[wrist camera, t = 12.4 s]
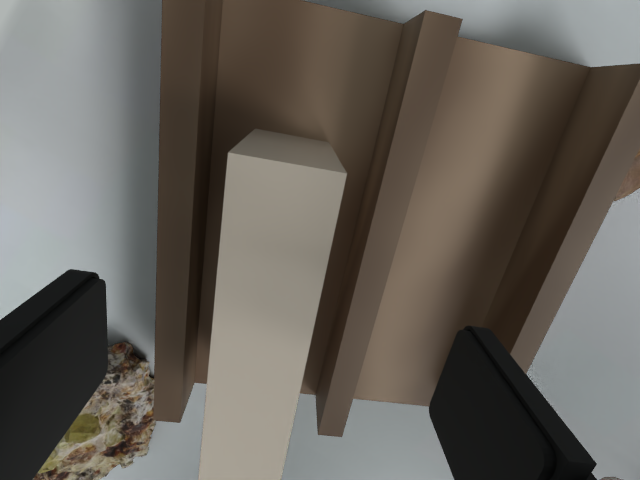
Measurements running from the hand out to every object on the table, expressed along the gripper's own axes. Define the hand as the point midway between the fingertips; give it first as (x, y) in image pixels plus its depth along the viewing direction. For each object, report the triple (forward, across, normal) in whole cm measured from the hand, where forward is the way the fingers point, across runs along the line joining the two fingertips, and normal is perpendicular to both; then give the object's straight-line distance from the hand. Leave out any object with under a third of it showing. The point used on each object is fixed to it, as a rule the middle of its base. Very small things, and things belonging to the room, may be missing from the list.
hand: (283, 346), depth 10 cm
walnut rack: (+8, -3, 0) cm, 9 cm away
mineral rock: (+9, +10, +12) cm, 18 cm away
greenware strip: (+7, +1, +1) cm, 7 cm away
